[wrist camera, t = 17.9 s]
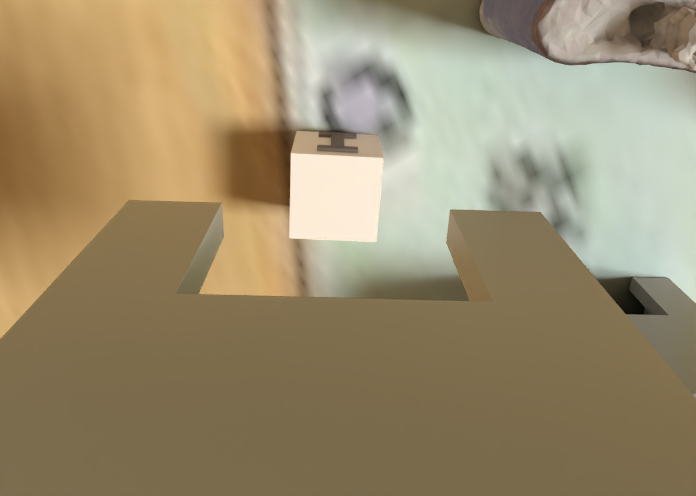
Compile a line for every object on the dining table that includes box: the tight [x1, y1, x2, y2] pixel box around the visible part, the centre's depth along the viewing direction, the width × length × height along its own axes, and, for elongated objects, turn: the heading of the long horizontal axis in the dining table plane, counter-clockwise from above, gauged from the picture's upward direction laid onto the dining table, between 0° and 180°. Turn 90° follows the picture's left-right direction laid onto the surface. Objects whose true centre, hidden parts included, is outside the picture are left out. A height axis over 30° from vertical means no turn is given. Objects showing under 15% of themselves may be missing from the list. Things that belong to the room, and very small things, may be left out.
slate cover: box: [626, 277, 696, 398], centre depth 30 cm, size 9×9×10 cm
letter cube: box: [289, 131, 384, 242], centre depth 28 cm, size 4×4×4 cm
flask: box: [479, 0, 696, 73], centre depth 22 cm, size 9×3×11 cm, turn 82°
